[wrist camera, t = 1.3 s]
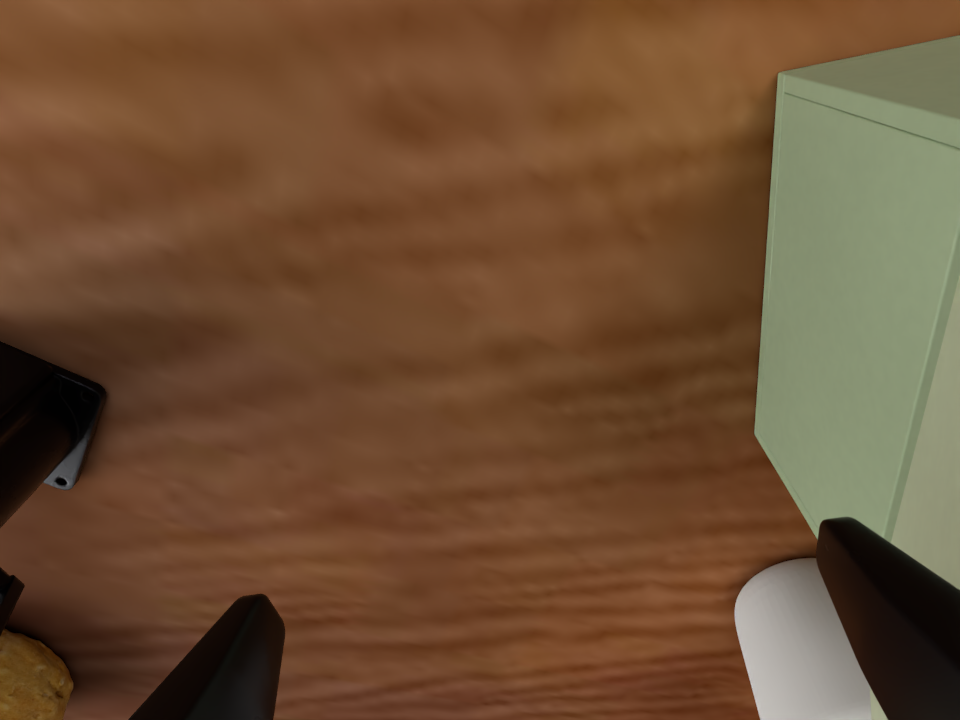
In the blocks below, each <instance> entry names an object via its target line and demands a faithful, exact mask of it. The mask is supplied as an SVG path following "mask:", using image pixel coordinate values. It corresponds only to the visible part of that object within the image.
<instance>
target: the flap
mask: <svg viewBox="0 0 960 720" xmlns="http://www.w3.org/2000/svg"><path fill="white" fill-rule="evenodd" d="M891 543H892V544H893V545H895V546H896V547H897V548H899V549H900V550H902V551H903V552H905V553H906V554H908V555H909V556H911V557H912V558H914V559H915V560H917V561H918V562H919V563H921V564H922V565H924V566H925V567H927V568H928V569H930V570H931V571H933V572H934V573H936V574H937V575H939V576H940V577H941V578H943V579H944V580H946V581H947V582H949V583H950V584H952V585H953V586H955V587H956V588H958V589H959V590H960V276H959V280H958V283H957V287H956V291H955V295H954V299H953V303H952V307H951V311H950V314H949V318H948V322H947V326H946V330H945V334H944V338H943V342H942V346H941V349H940V353H939V357H938V361H937V365H936V369H935V373H934V377H933V380H932V384H931V388H930V392H929V396H928V400H927V404H926V408H925V412H924V415H923V419H922V423H921V427H920V431H919V435H918V439H917V443H916V447H915V450H914V454H913V458H912V462H911V466H910V470H909V474H908V478H907V481H906V485H905V489H904V493H903V497H902V501H901V505H900V509H899V513H898V516H897V520H896V524H895V528H894V532H893V536H892V540H891ZM870 701H871V719H872V720H888V719H887V717H886V715H885V713H884V712H883V710H882V708H881V706H880V704H879V702H878V701H877V699H876V697H875V695H874V693H873V692H872V690H871V688H870Z"/></svg>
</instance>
